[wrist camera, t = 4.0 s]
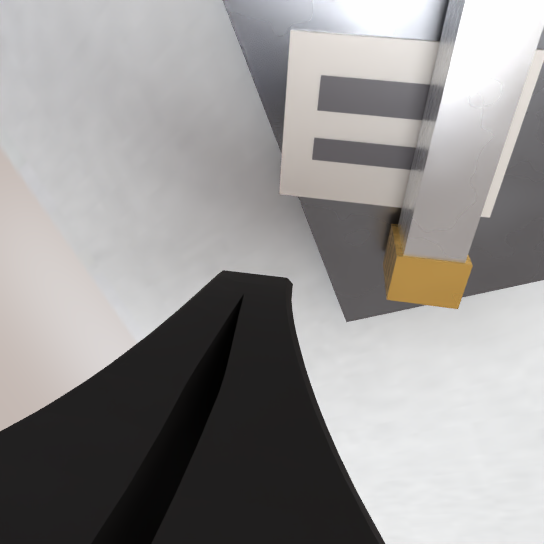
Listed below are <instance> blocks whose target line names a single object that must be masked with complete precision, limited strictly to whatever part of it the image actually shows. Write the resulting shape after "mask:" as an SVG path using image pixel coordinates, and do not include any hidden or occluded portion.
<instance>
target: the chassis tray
mask: <svg viewBox="0 0 544 544" xmlns="http://www.w3.org/2000/svg"><path fill="white" fill-rule="evenodd" d="M223 2H224V5H225V7H226V10H227V12H228V15H229V18H230V20H231V23H232V25H233V28H234V31H235V33H236V36H237V38H238V41H239V44H240V46H241V49H242V51H243V54H244V57H245V59H246V62H247V64H248V67H249V70H250V72H251V75H252V77H253V80H254V83H255V85H256V88H257V90H258V93H259V96H260V98H261V101H262V103H263V106H264V109H265V111H266V114H267V116H268V119H269V122H270V124H271V127H272V129H273V132H274V135H275V137H276V140H277V142H278V145H279V148H280V150H281V153H282V144H283V130H284V116H285V101H286V87H287V72H288V58H289V43H290V31H291V30H302V31H315V32H328V33H341V34H354V35H367V36H379V37H392V38H405V39H418V40H431V41H440V39H441V34H442V30H443V25H444V21H445V17H446V12H447V8H448V3H449V0H223ZM536 49H544V27H543V30H542V33H541V36H540V39H539V42H538V45H537V48H536ZM298 197H299V196H298ZM299 200H300V202H301V205H302V208H303V210H304V213H305V215H306V218H307V221H308V223H309V226H310V228H311V231H312V234H313V236H314V239H315V241H316V244H317V247H318V249H319V252H320V254H321V257H322V260H323V262H324V265H325V267H326V270H327V273H328V275H329V278H330V280H331V283H332V286H333V288H334V291H335V293H336V296H337V299H338V301H339V304H340V306H341V309H342V312H343V314H344V317H345V319H346V322H349V321H354V320H359V319H363V318H368V317H373V316H377V315H382V314H387V313H391V312H396V311H401V310H405V309H410V308H415V307H419V306H424V305H423V304H415V303H408V302H400V301H392V300H387V298H386V289H385V280H384V270H383V261H384V256H385V252H386V247H387V243H388V238H389V233H390V229H391V224H398V223H399V219H400V214H401V210H402V208H398V207H389V206H380V205H371V204H362V203H353V202H344V201H335V200H326V199H317V198H308V197H299ZM468 255H469V258H470V260H471V262H472V265H473V267H472V270H471V272H470V275H469V278H468V281H467V284H466V287H465V290H464V293H463V296H462V297H466V296H471V295H475V294H480V293H485V292H489V291H494V290H499V289H503V288H508V287H513V286H517V285H522V284H527V283H531V282H536V281H541V280H544V61H543V64H542V67H541V70H540V73H539V76H538V79H537V82H536V85H535V88H534V90H533V93H532V96H531V99H530V102H529V105H528V108H527V111H526V114H525V117H524V119H523V122H522V125H521V128H520V131H519V134H518V137H517V140H516V143H515V146H514V149H513V151H512V154H511V157H510V160H509V163H508V166H507V169H506V172H505V175H504V178H503V181H502V183H501V186H500V189H499V192H498V195H497V198H496V201H495V204H494V207H493V210H492V212H491V215H490V218H488V217H480V220H479V223H478V226H477V229H476V232H475V235H474V238H473V241H472V244H471V247H470V250H469V253H468Z"/></svg>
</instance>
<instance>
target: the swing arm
mask: <svg viewBox="0 0 544 544" xmlns="http://www.w3.org/2000/svg"><path fill="white" fill-rule="evenodd" d="M543 27H544V0H449V3H448V8H447V12H446V17H445V21H444V25H443V30H442V34H441V39H440V43H439V47H438V52H437V56H436V60H435V65H434V69H433V74H432V78H431V82H430V87H429V91H428V96H427V100H426V104H425V109H424V113H423V118H422V122H421V126H420V131H419V135H418V140H417V144H416V148H415V153H414V157H413V162H412V166H411V170H410V175H409V179H408V183H407V188H406V192H405V197H404V201H403V205H402V210H401V214H400V219H399V223H398V224H391V229H390V233H389V238H388V243H387V247H386V252H385V256H384V261H383V270H384V280H385V289H386V298H387V300H392V301H400V302H408V303H415V304H423V305H431V306H439V307H446V308H454V309H458V307H459V304H460V302H461V299H462V296H463V293H464V290H465V287H466V284H467V281H468V278H469V275H470V272H471V270H472V267H473V265H472V262H471V260H470V258H469V255H468V253H469V250H470V247H471V244H472V241H473V238H474V235H475V232H476V229H477V226H478V223H479V220H480V217H481V214H482V211H483V208H484V205H485V202H486V199H487V196H488V193H489V190H490V187H491V184H492V181H493V178H494V175H495V172H496V169H497V166H498V163H499V160H500V157H501V153H502V150H503V147H504V144H505V141H506V138H507V135H508V132H509V129H510V126H511V123H512V120H513V117H514V114H515V111H516V108H517V105H518V102H519V99H520V96H521V93H522V90H523V87H524V84H525V81H526V78H527V75H528V72H529V69H530V66H531V63H532V60H533V57H534V54H535V51H536V48H537V45H538V42H539V39H540V36H541V33H542V30H543Z"/></svg>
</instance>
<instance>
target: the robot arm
mask: <svg viewBox="0 0 544 544" xmlns="http://www.w3.org/2000/svg"><path fill="white" fill-rule="evenodd" d="M292 286H293V284H292V283H291V282H290V281H289V279H288V278H283V277H275V276H266V275H258V274H249V273H241V272H232V271H224V270H223V271H222V272H221V273H219V274H218V275H217V276H216V277H214V278H213V279H212V280H211V281H210V282H209V283H208V284H207V285H206V286H205V287H203V288H202V289H201V290H200V291H199V292H198V293H197V294H196V295H195V296H194V297H192V298H191V299H190V300H189V301H188V302H187V303H186V304H185V305H183V306H182V307H181V308H180V309H179V310H178V311H177V312H175V313H174V314H173V315H172V316H171V317H169V318H168V319H167V320H166V321H165V322H163V323H162V324H161V325H160V326H159V327H158V328H156V329H155V330H154V331H153V332H152V333H150V334H149V335H148V336H147V337H145V338H144V339H143V340H141V341H140V342H139V343H137V344H136V345H135V346H133V347H132V348H131V349H130V350H128V351H127V352H126V353H124V354H123V355H122V356H120V357H119V358H118V359H116V360H115V361H114V362H112V363H111V364H110V365H108V366H107V367H105V368H104V369H103V370H101V371H100V372H98V373H97V374H95V375H94V376H92V377H91V378H90V379H88V380H87V381H85V382H84V383H82V384H81V385H79V386H77V387H76V388H74V389H73V390H71V391H70V392H68V393H67V394H65V395H63V396H61V397H60V398H58V399H57V400H55V401H54V402H52V403H50V404H49V405H47V406H45V407H44V408H42V409H40V410H39V411H37V412H35V413H33V414H32V415H29V416H28V417H26V418H24V419H23V420H20V421H19V422H17V423H15V424H13V425H11V426H10V427H8V428H6V429H4V430H2V431H0V544H385V542H384V541H383V539H382V537H381V535H380V533H379V531H378V530H377V528H376V526H375V524H374V522H373V520H372V519H371V517H370V515H369V513H368V511H367V509H366V508H365V506H364V504H363V502H362V500H361V498H360V497H359V495H358V493H357V491H356V489H355V487H354V485H353V483H352V481H351V479H350V477H349V475H348V472H347V470H346V468H345V466H344V464H343V462H342V460H341V458H340V456H339V454H338V451H337V449H336V447H335V445H334V442H333V440H332V438H331V435H330V433H329V431H328V428H327V426H326V424H325V421H324V419H323V416H322V414H321V411H320V408H319V406H318V403H317V401H316V398H315V395H314V392H313V389H312V386H311V383H310V380H309V378H308V375H307V371H306V368H305V365H304V361H303V358H302V354H301V350H300V346H299V342H298V338H297V334H296V330H295V325H294V319H293V312H292V303H291V298H292Z"/></svg>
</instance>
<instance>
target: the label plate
mask: <svg viewBox="0 0 544 544" xmlns="http://www.w3.org/2000/svg"><path fill="white" fill-rule="evenodd" d="M439 43H440V41H431V40H418V39H405V38H392V37H379V36H367V35H354V34H341V33H328V32H315V31H302V30H291V31H290V43H289V58H288V72H287V87H286V101H285V116H284V130H283V144H282V159H281V173H280V188H279V194H281V195H290V196H299V197H308V198H317V199H326V200H335V201H344V202H353V203H362V204H371V205H380V206H389V207H398V208H402V205H403V201H404V197H405V192H406V188H407V183H408V179H409V175H410V170H411V166H412V162H413V157H414V153H415V148H416V144H417V140H418V135H419V131H420V126H421V122H422V118H423V113H424V109H425V104H426V100H427V96H428V91H429V87H430V82H431V78H432V74H433V69H434V65H435V60H436V56H437V52H438V47H439ZM543 61H544V49H536V51H535V54H534V57H533V60H532V63H531V66H530V69H529V72H528V75H527V78H526V81H525V84H524V87H523V90H522V93H521V96H520V99H519V102H518V105H517V108H516V111H515V114H514V117H513V120H512V123H511V126H510V129H509V132H508V135H507V138H506V141H505V144H504V147H503V150H502V153H501V157H500V160H499V163H498V166H497V169H496V172H495V175H494V178H493V181H492V184H491V187H490V190H489V193H488V196H487V199H486V202H485V205H484V208H483V211H482V214H481V217H488V218H490V215H491V212H492V210H493V207H494V204H495V201H496V198H497V195H498V192H499V189H500V186H501V183H502V181H503V178H504V175H505V172H506V169H507V166H508V163H509V160H510V157H511V154H512V151H513V149H514V146H515V143H516V140H517V137H518V134H519V131H520V128H521V125H522V122H523V119H524V117H525V114H526V111H527V108H528V105H529V102H530V99H531V96H532V93H533V90H534V88H535V85H536V82H537V79H538V76H539V73H540V70H541V67H542V64H543Z"/></svg>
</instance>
